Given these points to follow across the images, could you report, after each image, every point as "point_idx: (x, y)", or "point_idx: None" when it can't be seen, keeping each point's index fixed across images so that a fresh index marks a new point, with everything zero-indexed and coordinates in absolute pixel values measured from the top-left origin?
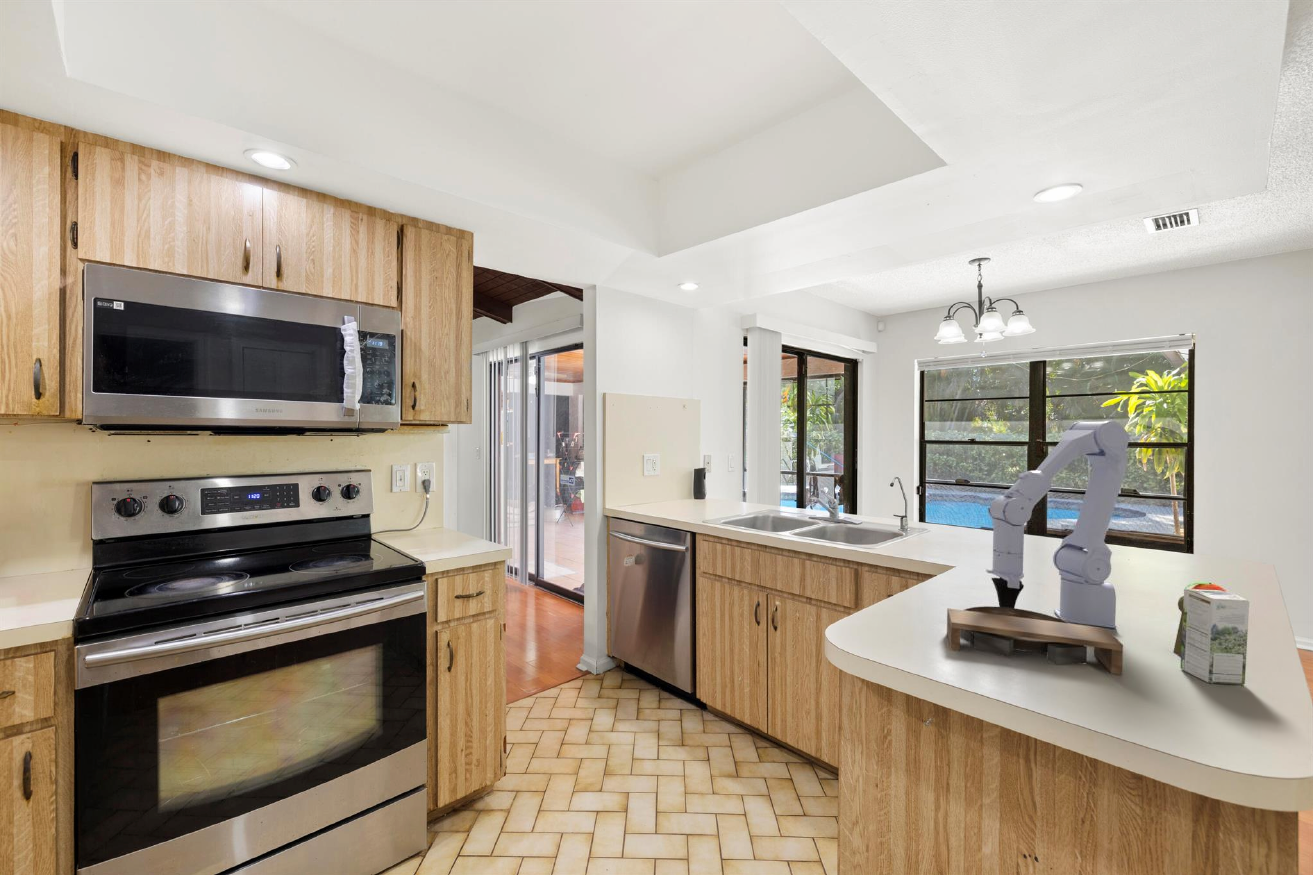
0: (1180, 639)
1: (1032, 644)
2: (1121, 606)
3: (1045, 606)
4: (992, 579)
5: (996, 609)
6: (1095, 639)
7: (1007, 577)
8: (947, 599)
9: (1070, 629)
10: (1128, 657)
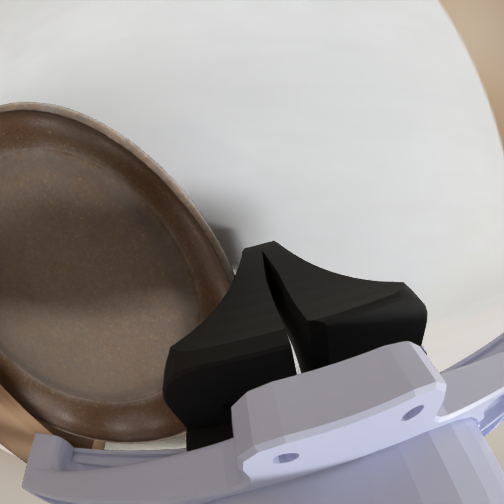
0: None
1: None
2: None
3: (461, 316)
4: (334, 322)
5: (205, 238)
6: (10, 448)
7: (43, 494)
8: (415, 6)
9: (14, 437)
10: (140, 448)
